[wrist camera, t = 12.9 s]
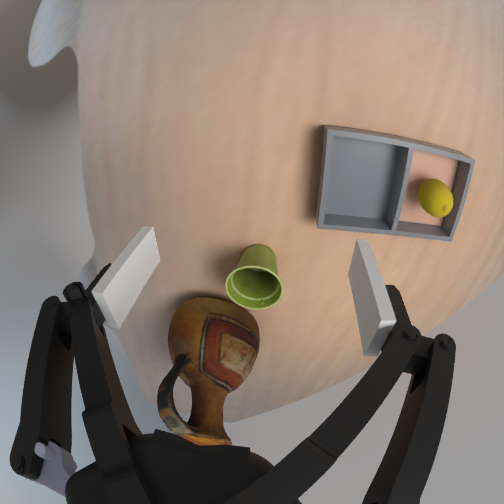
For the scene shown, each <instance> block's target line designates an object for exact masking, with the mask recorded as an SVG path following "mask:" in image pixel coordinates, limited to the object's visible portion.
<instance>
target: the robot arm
mask: <svg viewBox="0 0 504 504" xmlns="http://www.w3.org/2000/svg"><path fill="white" fill-rule="evenodd" d="M159 262H160V256H159V251H158V247H157V242H156V238H155V233H154V228H153V227H150V226H143V227H142V228H141V230H140V231H139V232H138V233H137V234H136V235H135V237H134V238H133V239H132V240H131V241H130V243H129V244H128V245H127V246H126V247H125V249H124V250H123V251H122V252H121V254H120V255H119V256H118V257H117V259H116V260H115V261H114V262H113V264H111V263H109V264H108V265H107V266H105V267H104V268H103V269H102V270H101V271H100V273H99V275H97V276H96V278H95V279H94V280H93V282H92V283H91V284H90V285H89V287H88V288H87V289H86V291H85V289H84V287H83V284H82V283H81V282H73V283H71V284H69V285H67V286H66V287H65V289H64V290H63V295H64V297H65V298H66V300H67V302H60V300H59V298H58V297H57V296H51V297H49V298H47V299H46V300H45V301H44V302H43V304H42V307H41V310H40V313H39V317H38V320H37V324H36V328H35V332H34V336H33V340H32V344H31V349H30V354H29V358H28V363H27V369H26V375H25V381H24V389H23V397H22V405H21V418H20V424H19V427H18V430H17V434H16V436H15V440H14V443H13V446H12V450H11V453H10V465H11V467H12V469H13V470H14V471H15V472H16V473H17V474H19V475H21V476H23V477H25V478H28V479H30V480H32V481H35V482H37V483H40V484H42V485H45V486H47V487H49V488H50V489H52V490H54V491H56V492H58V493H59V494H61V495H63V496H65V497H66V501H67V504H302V503H301V502H300V501H299V499H298V498H299V497H300V496H301V495H302V494H303V493H304V492H305V491H307V490H308V489H309V488H310V487H311V486H312V485H313V484H314V483H315V482H316V481H317V480H318V479H319V478H320V477H321V476H322V475H323V474H324V473H325V472H326V471H327V470H328V469H329V468H330V467H331V466H332V465H333V464H334V463H335V461H336V460H337V458H338V457H339V456H340V455H341V454H342V453H343V452H344V450H345V449H346V448H347V447H348V446H349V445H350V443H351V442H352V441H353V440H354V439H355V438H356V436H357V435H358V434H359V433H360V432H361V430H362V429H363V428H364V427H365V425H366V424H367V423H368V421H369V420H370V419H371V417H372V416H373V415H374V413H375V412H376V410H377V409H378V408H379V407H380V405H381V404H382V402H383V401H384V399H385V398H386V397H387V395H388V394H389V392H390V391H391V389H392V388H393V386H394V385H395V383H396V382H397V380H398V378H399V377H400V375H401V374H402V372H406V373H410V374H412V376H411V380H410V384H409V387H408V391H407V394H406V397H405V401H404V404H403V407H402V410H401V413H400V416H399V419H398V422H397V425H396V428H395V430H394V433H393V436H392V438H391V441H390V443H389V445H388V448H387V450H386V453H385V455H384V457H383V460H382V462H381V464H380V466H379V468H378V471H377V473H376V475H375V477H374V479H373V481H372V483H371V485H370V487H369V489H368V491H367V493H366V495H365V497H364V500H363V503H362V504H419V502H420V497H421V495H422V492H423V490H424V487H425V485H426V482H427V479H428V477H429V474H430V471H431V468H432V465H433V462H434V459H435V456H436V453H437V449H438V446H439V442H440V439H441V435H442V431H443V427H444V422H445V418H446V413H447V408H448V403H449V398H450V392H451V386H452V379H453V371H454V362H455V351H456V345H455V342H454V340H453V339H452V338H451V337H450V336H448V335H447V334H439V335H437V336H436V337H435V339H432V338H427V337H424V336H422V335H421V333H420V332H419V330H418V329H417V328H416V327H415V326H412V325H411V322H410V319H409V316H408V314H407V311H406V308H405V306H404V302H403V300H402V297H401V294H400V292H399V290H398V289H397V288H396V287H395V286H394V285H385V284H384V281H383V278H382V275H381V273H380V270H379V267H378V265H377V262H376V259H375V257H374V254H373V251H372V249H371V246H370V244H369V241H368V240H359V239H357V240H356V244H355V249H354V253H353V257H352V261H351V265H350V269H349V273H348V276H349V280H350V285H351V289H352V294H353V299H354V304H355V309H356V314H357V319H358V325H359V330H360V336H361V342H362V349H363V355H364V356H378V354H379V352H380V351H382V353H381V354H380V355H379V357H378V358H377V360H376V361H375V362H374V364H373V365H372V366H371V367H370V369H369V370H368V371H367V373H366V374H365V375H364V377H363V378H362V379H361V380H360V381H359V383H358V384H357V385H356V386H355V388H354V389H353V390H352V391H351V392H350V394H349V395H348V396H347V397H346V398H345V399H344V400H343V402H342V403H341V404H340V405H339V406H338V407H337V408H336V409H335V410H334V411H333V413H332V414H331V415H330V416H329V417H328V418H327V419H326V420H325V421H324V422H323V423H322V424H321V425H320V426H319V427H318V428H317V429H316V430H315V431H314V432H313V433H312V434H311V435H310V436H309V437H308V438H306V439H305V440H304V441H302V442H301V443H300V444H299V445H298V446H297V447H296V448H295V449H294V450H293V451H291V452H290V453H289V454H288V455H287V456H286V457H285V458H284V459H282V460H281V461H280V462H279V463H278V464H277V465H276V466H273V465H272V464H271V463H270V462H269V461H267V460H266V459H265V458H263V457H261V456H259V455H257V454H255V453H252V452H250V448H249V447H240V446H233V445H226V444H224V445H203V446H201V445H197V444H195V443H193V442H191V441H189V440H186V439H184V438H182V437H181V436H179V435H176V434H172V433H168V432H165V431H161V430H158V429H155V431H154V433H151V434H142V433H141V431H140V430H139V428H138V427H137V425H136V423H135V421H134V418H133V416H132V414H131V411H130V408H129V406H128V403H127V400H126V398H125V395H124V392H123V389H122V386H121V383H120V380H119V377H118V374H117V371H116V368H115V365H114V362H113V358H112V355H111V352H110V348H109V344H108V340H107V337H106V333H105V329H104V327H103V325H102V324H103V323H104V321H105V320H106V322H107V324H108V326H109V327H112V328H116V329H120V327H121V325H122V324H123V322H124V320H125V318H126V317H127V315H128V313H129V311H130V310H131V308H132V306H133V304H134V303H135V301H136V299H137V298H138V296H139V294H140V293H141V291H142V289H143V288H144V286H145V284H146V283H147V281H148V279H149V278H150V276H151V274H152V273H153V271H154V270H155V268H156V266H157V265H158V263H159ZM74 357H75V363H76V369H77V374H78V379H79V384H80V388H81V393H82V397H83V401H84V405H85V411H83V412H82V417H83V421H84V425H85V428H86V432H87V435H88V438H89V441H90V445H91V448H92V451H93V454H94V456H95V459H96V461H95V462H93V463H92V464H90V465H88V466H86V467H85V468H83V469H81V470H79V471H78V472H75V470H76V469H77V465H76V463H75V462H74V460H73V457H72V455H71V446H72V429H71V396H72V373H73V362H74Z"/></svg>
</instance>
